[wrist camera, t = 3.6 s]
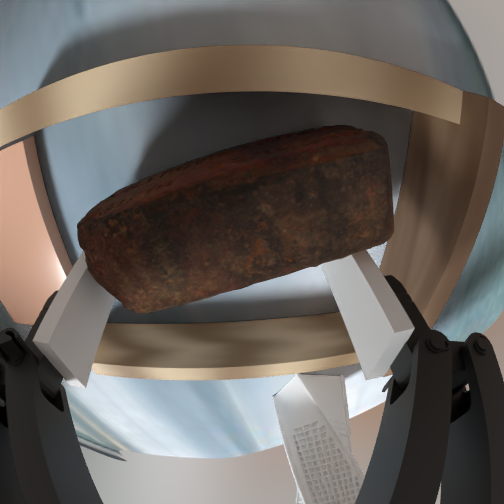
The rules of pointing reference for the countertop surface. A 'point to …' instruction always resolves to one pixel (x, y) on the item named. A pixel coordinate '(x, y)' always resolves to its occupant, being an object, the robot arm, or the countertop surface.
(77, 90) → the channel
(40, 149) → the countertop surface
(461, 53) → the countertop surface
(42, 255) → the tile
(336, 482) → the skyscraper
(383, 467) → the robot arm
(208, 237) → the brick
